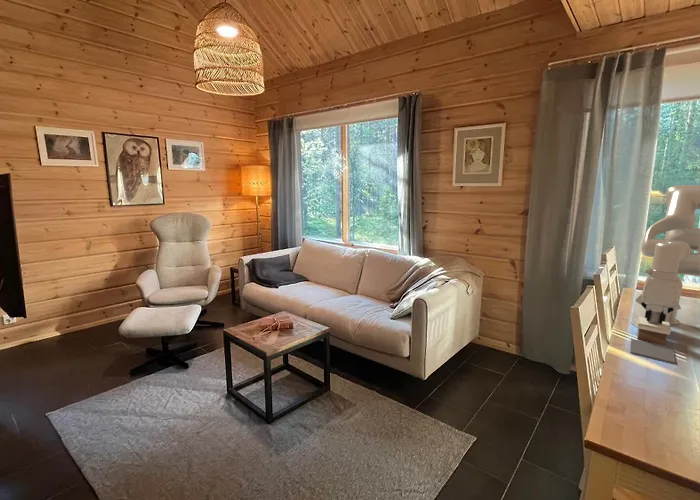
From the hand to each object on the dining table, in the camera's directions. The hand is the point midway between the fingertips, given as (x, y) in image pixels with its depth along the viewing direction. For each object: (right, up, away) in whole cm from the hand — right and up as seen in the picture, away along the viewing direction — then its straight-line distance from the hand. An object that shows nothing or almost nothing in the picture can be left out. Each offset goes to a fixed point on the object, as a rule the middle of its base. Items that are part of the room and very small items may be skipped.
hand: (654, 321), depth 139 cm
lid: (0, -3, +1) cm, 3 cm away
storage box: (0, -7, +1) cm, 8 cm away
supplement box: (+8, -6, +13) cm, 16 cm away
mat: (-8, -9, -9) cm, 15 cm away
